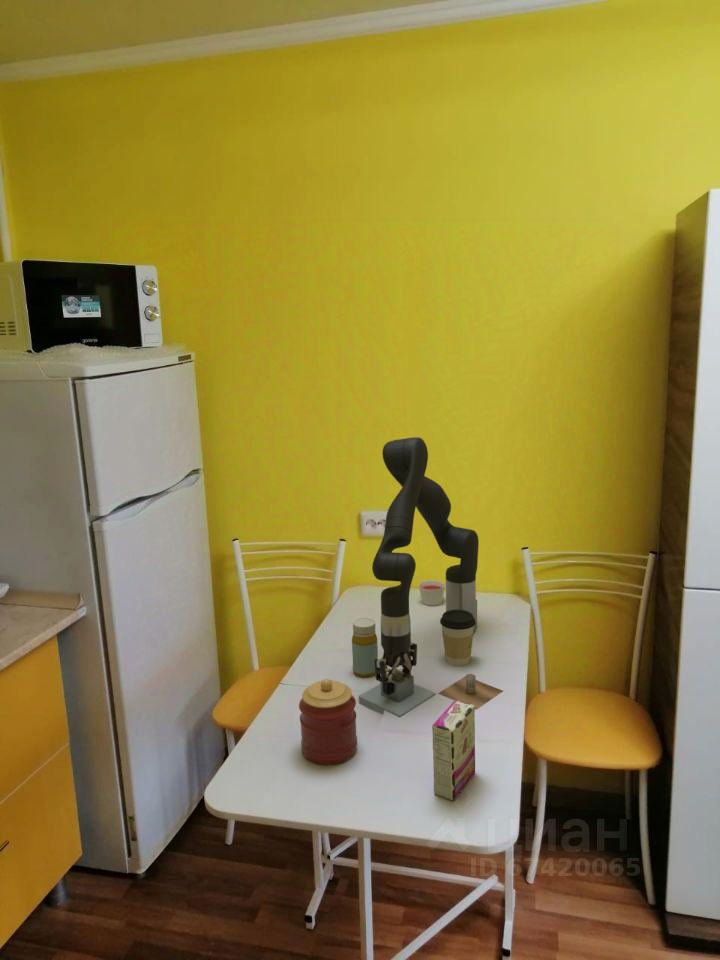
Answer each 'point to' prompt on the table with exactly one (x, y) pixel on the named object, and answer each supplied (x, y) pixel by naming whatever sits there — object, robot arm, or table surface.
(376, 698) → the square plate
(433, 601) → the candle
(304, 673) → the table surface
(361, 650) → the bottle
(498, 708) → the table surface
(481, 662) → the table surface
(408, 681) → the recessed metal cube
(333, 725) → the canister
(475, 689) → the stand
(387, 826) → the table surface
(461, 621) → the coffee cup
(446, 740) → the candy bar box
